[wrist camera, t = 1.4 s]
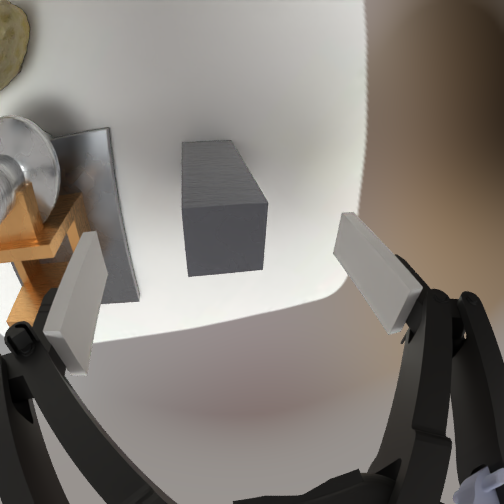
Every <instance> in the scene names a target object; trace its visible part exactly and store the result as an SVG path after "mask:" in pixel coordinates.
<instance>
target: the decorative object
mask: <svg viewBox="0 0 504 504" xmlns="http://www.w3.org/2000/svg"><path fill="white" fill-rule="evenodd" d="M29 32H30V27H29V23H28V21H27V16H26V14H25V13H24V12H23V10H22V9H20V8H19V7H17V6H16V5H13V4H11V3H10V2H9V1H8V0H0V90H2V89H3V88H4V87H6V86H7V85H8V84H9V82H10V81H11V80H12V79H13V78H14V77H15V76H16V75H17V74H18V73H19V72H20V71H21V68H22V66H21V64H22V62H23V58H24V56H25V54H26V52H27V44H28V40H29Z"/></svg>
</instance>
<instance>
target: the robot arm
mask: <svg viewBox="0 0 504 504" xmlns="http://www.w3.org/2000/svg"><path fill="white" fill-rule="evenodd" d="M333 254H334V255H335V257H336V258H337V259H338V261H339V262H340V264H341V265H342V267H343V268H344V269H345V271H346V272H347V274H348V275H349V276H350V278H351V279H352V281H353V282H354V284H355V285H356V286H357V288H358V289H359V291H360V292H361V294H362V295H363V297H364V298H365V300H366V301H367V303H368V304H369V306H370V307H371V309H372V310H373V312H374V313H375V315H376V316H377V318H378V319H379V321H380V322H381V324H382V326H383V327H384V329H385V330H386V332H387V333H388V335H390V334H393V333H397V332H400V331H401V330H402V328H403V326H404V324H405V322H406V323H407V325H408V326H409V329H408V330H407V332H406V334H405V336H404V338H403V339H402V341H401V344H403V342H404V341H405V346H404V352H403V357H402V363H401V368H400V373H399V378H398V383H397V388H396V391H395V396H394V400H393V404H392V408H391V412H390V415H389V419H388V423H387V427H386V430H385V433H384V437H383V440H382V443H381V446H380V449H379V452H378V454H377V457H376V458H375V459H374V461H373V462H372V464H371V466H370V468H369V470H368V472H367V473H360V471H359V469H357V470H354V471H352V472H349V473H346V474H343V475H341V476H338V477H335V478H332V479H330V480H328V481H326V482H325V483H323V484H321V485H319V486H318V487H316V488H314V489H312V490H311V491H309V492H307V493H305V494H303V495H298V496H262V497H257V498H251V499H245V500H238V501H233V504H444V503H442V502H440V499H441V495H442V492H443V488H444V483H445V479H446V475H447V470H448V465H449V460H450V455H451V449H452V441H451V439H450V438H448V437H446V426H447V418H448V409H449V401H450V395H451V402H452V410H453V420H454V430H455V444H456V463H457V473H458V480H459V484H460V488H459V490H458V491H456V492H455V494H454V495H453V501H454V502H455V503H456V504H504V362H503V359H502V356H501V353H500V350H499V347H498V344H497V341H496V338H495V335H494V332H493V330H492V327H491V324H490V322H489V319H488V317H487V314H486V312H485V310H484V307H483V304H482V302H481V301H480V299H479V298H478V297H477V295H475V294H474V293H472V292H467V291H465V292H463V293H462V294H461V296H460V298H459V299H450V298H449V297H448V295H447V294H445V293H444V292H443V291H440V290H438V289H430V288H429V286H428V285H427V284H426V283H425V282H424V281H423V280H422V279H421V277H420V276H419V275H418V274H417V273H415V271H414V270H413V268H411V267H410V265H409V264H408V263H407V262H406V261H405V260H404V259H403V258H401V257H400V256H398V255H394V254H393V253H392V252H391V251H390V250H389V249H388V247H386V245H385V244H384V243H383V242H382V241H381V240H380V239H379V238H378V237H377V236H376V235H375V234H374V233H373V232H372V231H371V230H370V229H369V228H368V227H367V226H366V225H365V223H364V222H362V220H361V219H359V217H358V216H357V215H356V214H355V213H354V212H347V213H342V214H341V219H340V224H339V229H338V233H337V238H336V243H335V247H334V252H333ZM107 276H108V272H107V269H106V265H105V262H104V258H103V255H102V251H101V247H100V244H99V240H98V236H97V232H96V231H91V232H83V234H82V236H81V238H80V240H79V242H78V244H77V246H76V248H75V250H74V253H73V255H72V257H71V259H70V262H69V264H68V266H67V268H66V271H65V273H64V275H63V278H62V280H61V283H60V285H59V288H51V289H50V290H49V291H48V292H47V293H46V294H45V295H44V297H43V300H42V302H41V306H40V307H39V310H38V313H37V315H36V318H35V320H34V323H33V326H31V325H30V324H29V323H28V322H25V321H20V322H17V323H15V324H13V325H12V326H11V327H10V328H9V329H8V330H7V332H6V334H5V337H4V340H5V344H6V345H7V347H8V348H9V349H10V351H11V352H12V353H9V354H6V355H2V356H1V354H0V498H1V501H2V503H3V504H69V502H68V500H67V498H66V495H65V493H64V491H63V489H62V487H61V484H60V482H59V480H58V478H57V475H56V472H55V470H54V467H53V465H52V462H51V459H50V457H49V454H48V451H47V449H46V445H45V442H44V439H43V436H42V433H41V430H40V426H39V423H38V419H37V416H36V412H35V408H34V404H33V400H32V398H35V400H36V402H37V404H38V406H39V408H40V409H41V411H42V413H43V415H44V417H45V418H46V420H47V422H48V424H49V425H50V427H51V429H52V430H53V432H54V433H55V435H56V437H57V438H58V440H59V441H60V443H61V444H62V446H63V447H64V449H65V450H66V452H67V453H68V455H69V456H70V458H71V459H72V460H73V462H74V463H75V465H76V466H77V467H78V468H79V470H80V471H81V473H82V474H83V475H84V476H85V478H86V479H87V480H88V482H89V483H90V484H91V485H92V487H93V488H94V489H95V490H96V491H97V493H98V494H99V495H100V496H101V497H102V498H103V500H104V501H105V502H106V503H107V504H177V503H176V502H175V501H173V500H172V499H171V498H170V497H169V496H167V495H166V494H165V493H164V492H163V491H162V490H161V489H160V488H159V487H157V486H156V485H155V484H154V483H153V482H152V481H151V480H150V479H149V478H148V477H147V476H146V475H145V474H144V473H143V472H142V471H141V470H140V469H139V468H138V467H137V466H136V465H135V464H134V463H133V462H132V461H131V460H130V459H129V458H128V457H127V456H126V454H125V453H124V452H123V451H122V450H121V449H120V448H119V447H118V446H117V444H116V443H115V442H114V441H113V440H112V439H111V437H110V436H109V435H108V434H107V433H106V431H105V430H104V429H103V428H102V426H101V425H100V424H99V423H98V422H97V420H96V419H95V418H94V416H93V415H92V414H91V412H90V411H89V410H88V409H87V407H86V406H85V404H84V403H83V402H82V400H81V399H80V397H79V396H78V395H77V393H76V392H75V390H74V389H73V387H72V386H71V384H70V383H69V381H68V380H67V379H66V377H65V370H66V368H67V370H68V371H69V372H70V374H71V375H74V376H87V375H88V369H89V362H90V356H91V349H92V344H93V339H94V333H95V328H96V323H97V318H98V314H99V309H100V305H101V300H102V296H103V292H104V288H105V284H106V280H107ZM465 332H466V339H465V338H464V334H465Z"/></svg>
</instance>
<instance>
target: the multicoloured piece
mask: <svg viewBox="0 0 504 504" xmlns="http://www.w3.org/2000/svg"><path fill="white" fill-rule="evenodd" d="M91 231H96V232H97V236H98V240H99V244H100V247H101V251H102V255H103V258H104V262H105V265H106V269H107V272H108V276H107V280H106V284H105V288H104V292H103V296H102V300H101V304H110V303H125V302H139V299H140V294H139V290H138V286H137V282H136V278H135V274H134V270H133V266H132V262H131V258H130V253H129V249H128V245H127V240H126V235H125V230H124V225H123V220H122V215H121V210H120V204H119V198H118V192H117V186H116V180H115V173H114V166H113V158H112V150H111V141H110V131H109V128H103V129H97V130H91V131H85V132H80V133H75V134H70V135H65V136H61V137H56V138H53V137H52V136H51V135H50V134H49V133H47V132H44V131H43V130H42V129H41V128H40V127H39V126H38V125H37V124H35V123H34V122H32V121H31V120H29V119H27V118H24V117H21V116H15V115H8V116H3V117H0V263H7V262H11V264H12V266H13V268H14V271H15V273H16V275H17V277H18V279H19V281H20V283H21V285H22V288H21V290H20V292H19V294H18V296H17V298H16V301H15V303H14V305H13V307H12V310H11V312H10V314H9V317H8V319H7V321H6V322H7V324H8V325H9V327H11V326H12V325H13V324H15V323H17V322H20V321H25V322H28V323H29V324H30V325H31V326H33V323H34V320H35V318H36V315H37V313H38V310H39V307H40V306H41V302H42V300H43V297H44V295H45V294H46V293H47V292H48V291H49V290H50V289H51V288H59V285H60V283H61V280H62V278H63V275H64V273H65V271H66V268H67V266H68V264H69V262H70V259H71V257H72V255H73V253H74V250H75V248H76V246H77V244H78V242H79V240H80V238H81V236H82V234H83V232H91Z"/></svg>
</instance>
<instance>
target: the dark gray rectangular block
mask: <svg viewBox="0 0 504 504" xmlns="http://www.w3.org/2000/svg"><path fill="white" fill-rule="evenodd" d="M267 211H268V202H267V200H266V198H265V197H264V195H263V193H262V191H261V190H260V188H259V186H258V185H257V183H256V181H255V179H254V178H253V176H252V174H251V173H250V171H249V169H248V168H247V166H246V164H245V163H244V161H243V159H242V158H241V156H240V154H239V153H238V151H237V149H236V148H235V146H234V145H233V143H232V141H231V140H223V141H201V142H185V143H182V219H183V230H184V241H185V251H186V260H187V269H188V277H192V276H203V275H214V274H224V273H235V272H245V271H255V270H263V261H264V248H265V236H266V223H267Z"/></svg>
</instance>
